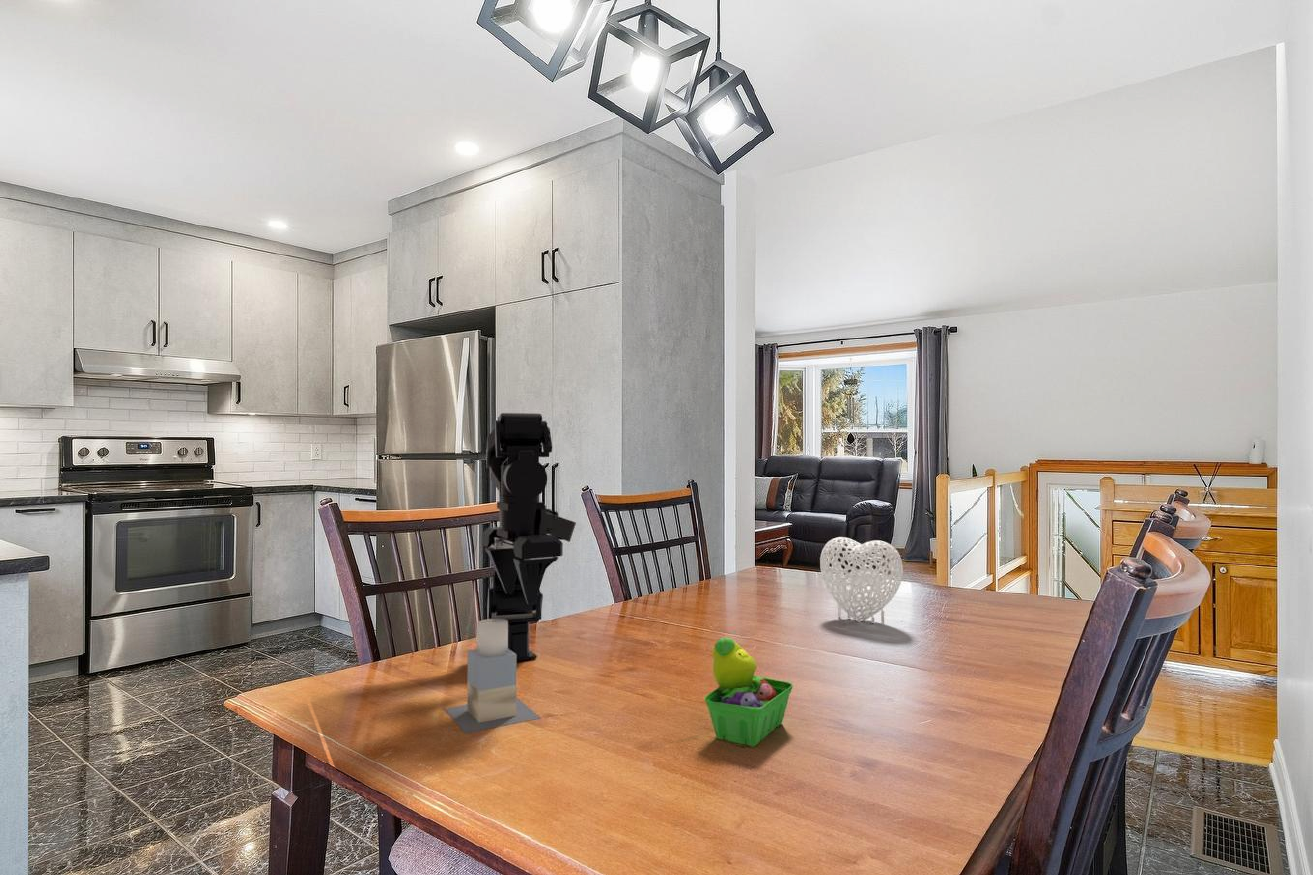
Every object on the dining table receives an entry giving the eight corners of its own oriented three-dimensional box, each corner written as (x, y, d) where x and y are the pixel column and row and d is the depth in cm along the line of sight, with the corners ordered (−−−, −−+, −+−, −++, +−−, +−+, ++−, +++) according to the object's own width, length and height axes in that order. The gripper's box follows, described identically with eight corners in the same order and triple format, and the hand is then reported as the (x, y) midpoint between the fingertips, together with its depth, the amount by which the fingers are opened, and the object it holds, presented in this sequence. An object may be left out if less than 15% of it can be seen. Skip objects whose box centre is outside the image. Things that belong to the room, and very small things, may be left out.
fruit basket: (759, 753, 84) (759, 656, 85) (692, 737, 89) (692, 645, 89) (795, 722, 94) (795, 635, 94) (733, 710, 99) (733, 626, 99)
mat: (443, 711, 98) (443, 708, 98) (514, 698, 103) (514, 695, 103) (465, 736, 89) (465, 733, 89) (541, 721, 94) (541, 718, 94)
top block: (467, 680, 97) (467, 650, 97) (503, 674, 99) (503, 645, 100) (479, 691, 93) (479, 659, 93) (516, 684, 95) (516, 654, 95)
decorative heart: (913, 624, 147) (913, 540, 148) (887, 633, 140) (887, 545, 140) (836, 610, 160) (836, 533, 161) (808, 618, 153) (808, 537, 153)
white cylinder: (473, 651, 97) (473, 620, 97) (501, 646, 99) (502, 617, 99) (482, 658, 93) (482, 627, 94) (512, 653, 96) (512, 623, 96)
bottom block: (467, 710, 97) (467, 680, 97) (503, 704, 99) (503, 674, 99) (478, 722, 93) (479, 691, 93) (516, 715, 95) (516, 684, 95)
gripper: (595, 497, 106) (595, 604, 106) (546, 491, 122) (545, 584, 122) (523, 499, 100) (522, 612, 100) (481, 493, 116) (480, 590, 116)
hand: (519, 598), depth 110 cm, fingers open, 9 cm apart
